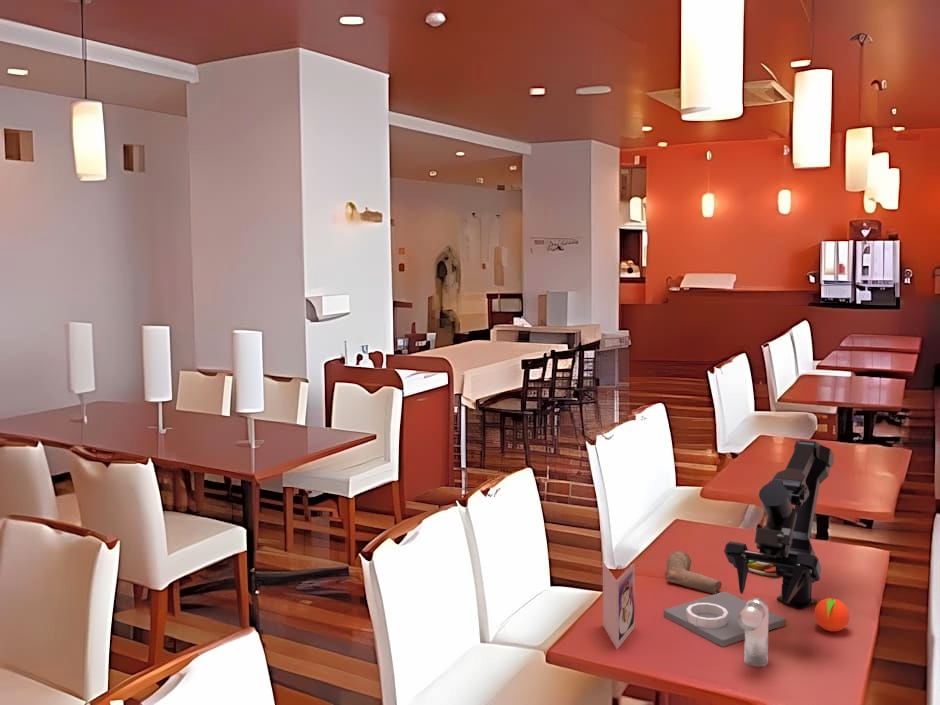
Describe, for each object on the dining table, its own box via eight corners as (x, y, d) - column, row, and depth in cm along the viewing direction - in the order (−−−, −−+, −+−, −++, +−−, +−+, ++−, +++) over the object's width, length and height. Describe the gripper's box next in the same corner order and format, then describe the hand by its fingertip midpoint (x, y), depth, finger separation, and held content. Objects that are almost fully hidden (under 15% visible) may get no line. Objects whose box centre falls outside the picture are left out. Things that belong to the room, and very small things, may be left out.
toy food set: (801, 565, 225) (801, 553, 225) (789, 582, 214) (790, 570, 214) (749, 556, 232) (749, 544, 232) (735, 573, 221) (735, 560, 221)
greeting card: (620, 650, 181) (620, 581, 179) (587, 643, 185) (586, 575, 183) (638, 628, 191) (638, 563, 189) (606, 622, 195) (606, 557, 193)
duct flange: (724, 597, 206) (724, 583, 205) (785, 625, 190) (785, 610, 190) (663, 616, 197) (663, 601, 196) (722, 647, 181) (722, 631, 181)
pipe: (715, 579, 205) (732, 560, 212) (652, 563, 216) (670, 546, 223) (716, 603, 207) (733, 583, 214) (653, 586, 217) (672, 568, 225)
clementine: (845, 641, 182) (846, 609, 181) (810, 634, 186) (811, 603, 185) (851, 627, 189) (852, 595, 188) (817, 620, 192) (818, 589, 192)
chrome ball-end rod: (747, 654, 178) (748, 592, 176) (770, 659, 175) (771, 597, 174) (735, 671, 171) (736, 607, 169) (758, 677, 168) (759, 612, 167)
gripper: (727, 504, 185) (709, 571, 177) (819, 518, 174) (805, 589, 167) (738, 529, 192) (721, 594, 184) (827, 544, 182) (813, 613, 174)
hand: (763, 597), depth 177 cm, fingers open, 9 cm apart
